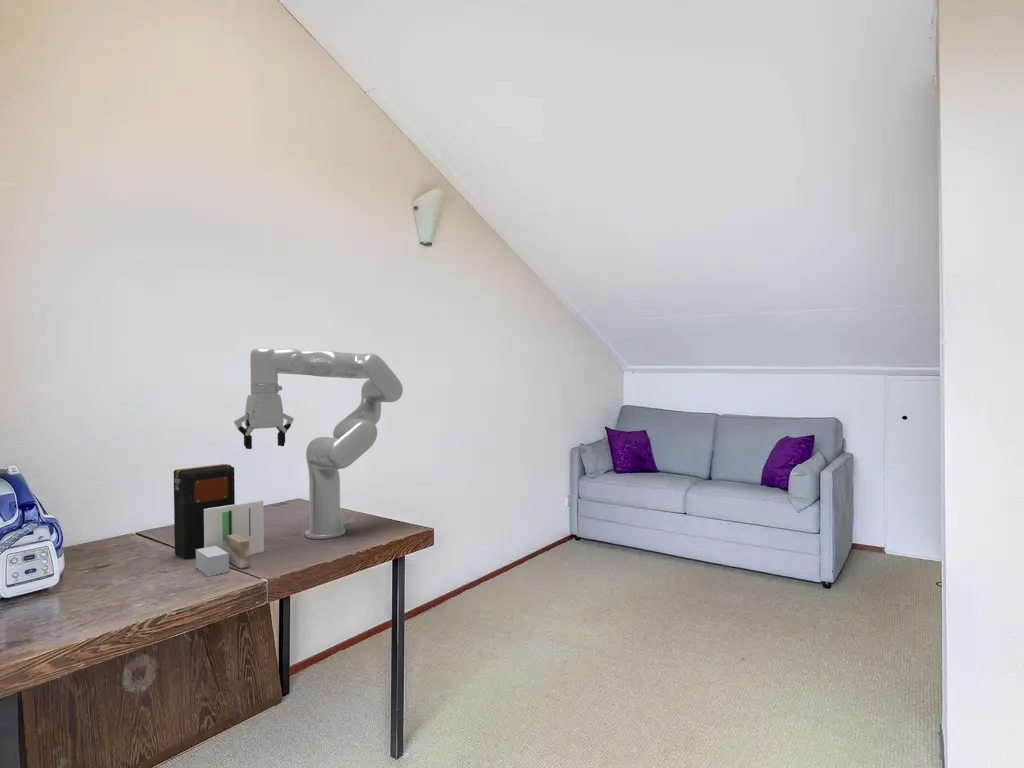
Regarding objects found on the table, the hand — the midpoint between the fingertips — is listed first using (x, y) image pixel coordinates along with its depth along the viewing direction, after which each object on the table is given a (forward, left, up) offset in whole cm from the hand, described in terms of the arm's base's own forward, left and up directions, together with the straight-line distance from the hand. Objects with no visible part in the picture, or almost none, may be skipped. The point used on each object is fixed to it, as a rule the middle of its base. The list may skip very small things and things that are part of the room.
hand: (265, 447), depth 180 cm
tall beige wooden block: (+12, +10, -30) cm, 34 cm away
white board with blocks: (+11, +9, -30) cm, 34 cm away
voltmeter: (+14, -9, -31) cm, 35 cm away
